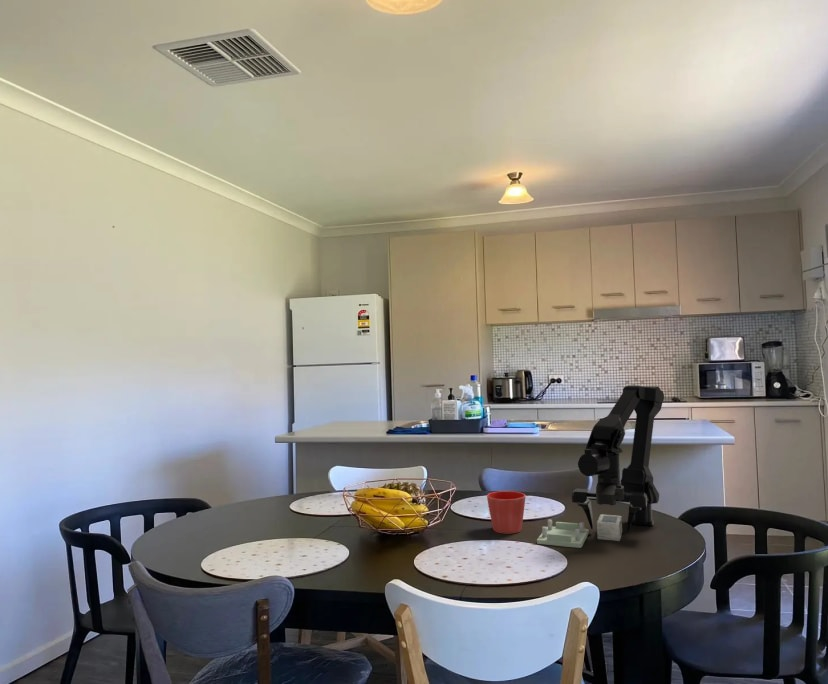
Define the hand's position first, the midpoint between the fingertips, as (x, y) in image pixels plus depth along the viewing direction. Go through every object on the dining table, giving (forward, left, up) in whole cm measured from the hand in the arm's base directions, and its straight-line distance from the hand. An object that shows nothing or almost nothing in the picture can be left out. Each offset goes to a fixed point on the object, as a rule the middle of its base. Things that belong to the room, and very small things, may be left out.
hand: (610, 530), depth 165 cm
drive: (0, 0, -2) cm, 2 cm away
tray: (+7, -11, -1) cm, 13 cm away
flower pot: (+4, -27, -2) cm, 27 cm away
